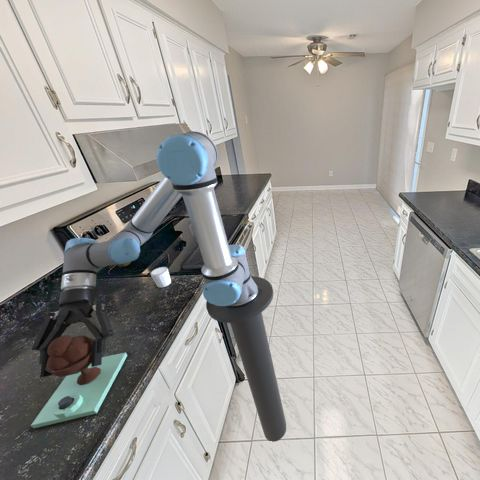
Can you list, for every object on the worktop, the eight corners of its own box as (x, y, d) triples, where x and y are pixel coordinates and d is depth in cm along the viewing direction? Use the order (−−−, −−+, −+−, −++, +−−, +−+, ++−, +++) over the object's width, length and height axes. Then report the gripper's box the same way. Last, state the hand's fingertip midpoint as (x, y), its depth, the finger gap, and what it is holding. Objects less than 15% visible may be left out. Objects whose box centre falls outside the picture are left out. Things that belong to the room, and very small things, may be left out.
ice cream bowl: (61, 403, 67) (26, 366, 60) (69, 371, 75) (40, 336, 68) (109, 380, 72) (83, 344, 65) (112, 353, 80) (89, 318, 73)
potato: (136, 257, 138) (130, 245, 134) (131, 269, 127) (125, 256, 124) (119, 261, 135) (112, 248, 132) (112, 274, 125) (104, 260, 121)
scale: (127, 355, 81) (123, 348, 79) (96, 413, 65) (91, 406, 64) (78, 365, 78) (73, 359, 77) (33, 428, 63) (26, 422, 61)
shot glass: (152, 287, 113) (146, 274, 110) (164, 278, 119) (159, 265, 115) (163, 289, 111) (158, 276, 108) (176, 280, 117) (171, 267, 113)
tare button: (75, 398, 66) (72, 394, 66) (69, 407, 64) (66, 404, 63) (65, 400, 66) (61, 397, 65) (58, 410, 64) (55, 406, 63)
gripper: (18, 296, 69) (5, 384, 62) (114, 280, 73) (111, 362, 66) (44, 298, 76) (34, 378, 70) (130, 284, 80) (128, 359, 73)
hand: (71, 371), depth 68 cm, fingers closed on ice cream bowl, 11 cm apart
